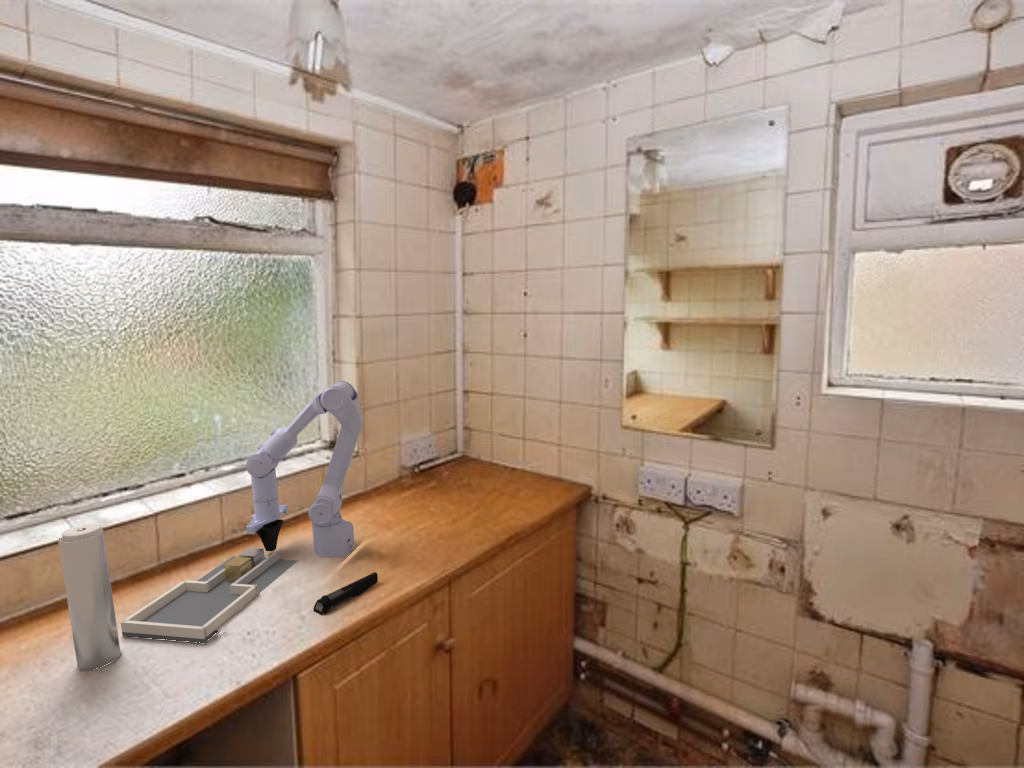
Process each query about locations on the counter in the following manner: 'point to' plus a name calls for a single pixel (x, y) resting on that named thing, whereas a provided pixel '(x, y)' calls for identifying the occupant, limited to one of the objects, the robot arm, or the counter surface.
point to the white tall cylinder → (89, 596)
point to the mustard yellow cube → (237, 568)
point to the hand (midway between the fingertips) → (270, 550)
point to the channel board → (202, 603)
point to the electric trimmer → (344, 593)
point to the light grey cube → (253, 555)
